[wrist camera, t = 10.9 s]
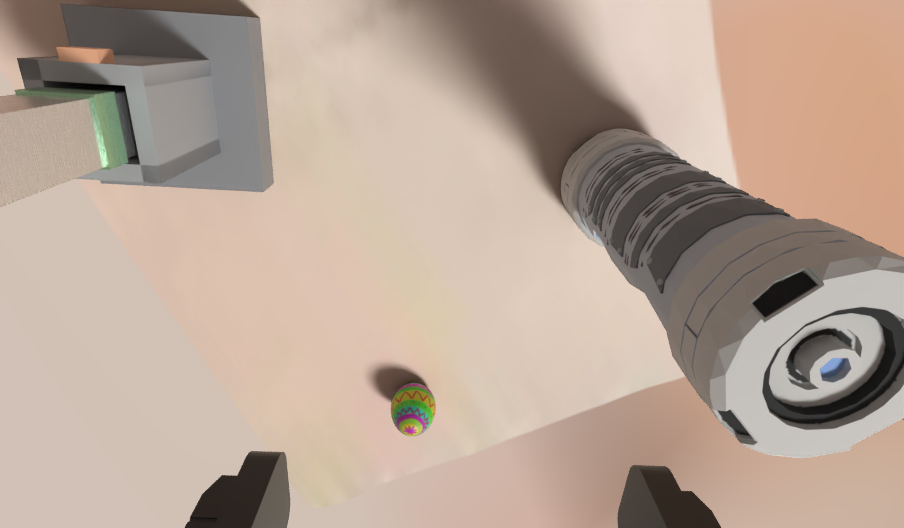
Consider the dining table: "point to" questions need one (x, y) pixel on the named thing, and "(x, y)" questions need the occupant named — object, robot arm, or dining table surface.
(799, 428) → the canister
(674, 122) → the dining table surface
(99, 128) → the column
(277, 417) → the dining table surface
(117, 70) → the stand
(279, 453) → the robot arm
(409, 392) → the egg
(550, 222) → the dining table surface
